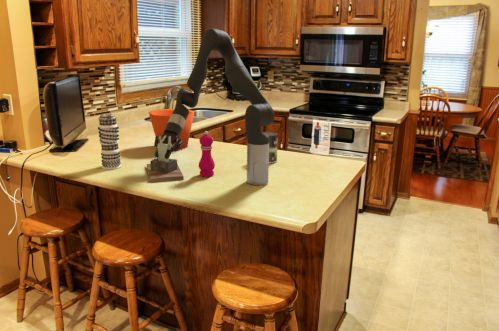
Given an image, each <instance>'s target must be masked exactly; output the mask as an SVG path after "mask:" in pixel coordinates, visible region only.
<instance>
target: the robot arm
mask: <svg viewBox="0 0 499 331" xmlns="http://www.w3.org/2000/svg"><path fill="white" fill-rule="evenodd" d="M212 51H213V52H218V53H219V54H220V55H221V57H222V58H223V60H224V62H225V68H224V72H225V76H226V79H227V81H228V82H229V84H230V85H231V87H232V89H233V90H234V91H236V93H238V94H240V95H241V96H242V97H244V98H245V99H246V100H247V101H248V102H249V103H250V105H248V106H247V107H246V109H245V114H244V124H245V137H246V139H247V140H246V141H247V142H246V148H247V149H246V150H247V151H246V182H247V184H249V185H253V186H263V185H268V184H269V167H270V164H269V136H268V135H265V134H262V133H261V132H262V127H267V126H269V125H272V124H273V123H274V121H275V117H276V116H275V111H274V109H273V107H272V105H271V104H270V102H269V101H268V100H267V98H266V97H265V96H264V94H263V92H261V91H260V89H259V88H258V85H257V84H256V82H255V81H254V79H253V78H252V76H251V74H250V72H249V71H248V69H247V67H246V65H244V62H243V60H242V59H241V58H240V55H239V54H238V52H237V50H236V48H235V46H234V43H233V41H232V38H231V37H230V35H229V33H227V32H226V31H224V30H222V29H217V28H213V27H212V28H208V29H206V30H205V32H204V33H203V36H202V38H201V41H200V46H199V48H198V52H197V56H196V60H195V62H194V66H193V68H192V70H191V72H190V75H189V77H188V79H187V82H186V85H187V87H188V88H189V89H190V90H189V89H186V88H184V87H183V88H180V89H179V90H178V91H177V94H176V97H175V98H176V101H175V106H174V108H173V109H174V111H173V113H172V115H171V117H170V119H169V121H168V123H167V125H166V127H165V129H164V134H163V135H162V136H161V137H158V136H155V139H154V144H153V147H154V148H155V151H154V157H155V159H156V158H158V144H159V143H163V144H169V147H168V150H167V152H166V154H165V156H164V157H165V159H168V158H169V159H170V158H171V157H170V156H171V154H172V153H173V152H175V153H176V152H177V151H179V150H178V148H179V147H180V146H181V144H182V143H183V141H182V140H181V139H180V138H179V137H180V134H181V132H182V130H183V127H184V125H185V121H186V119H187V117H188V115H189V110H190V109H192V108H193V109H194V108H196V106H197V105H198V103H199V98H200V93H201V92H200V91H201V88H202V87H203V85H204V82H205V80H206V79H207V75H208V59H209V57H210V56H209V55H210V54H211V52H212ZM192 91H193V92H192ZM187 107H188V108H190V109H188V108H187ZM178 138H179V139H178ZM161 139H162V140H161ZM174 143H175V144H174Z"/></svg>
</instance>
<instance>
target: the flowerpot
mask: <svg viewBox="0 0 499 331" xmlns="http://www.w3.org/2000/svg"><path fill="white" fill-rule="evenodd" d="M174 109H175V108H165V109H155V110H154V109H153V110H149V112H148V115H149V119H150V123H151V126H152V128H153V133H154V136H155V137H156V136H158V137H161V136H162V135H163V134H164V129H165V127H166V125H167V123H168V121H169V119H170V117H171V115H172V113H173V111H174ZM188 110H189V115H188V117H187V119H186V121H185V125H184V127H183V130H182V132H181V134H180V137H179V138H180V139H181V140H182V141H183V143H182V144H181V146H180V147H179V148H178V150H177V151H180V150H184V149H187V148H188V146H189V141H190V135H191V131H192V125H193V121H194V117H195V116H194V115H195V111H194V110H190V109H188ZM179 138H178V139H179ZM161 140H162V139H161ZM174 144H175V143H174Z"/></svg>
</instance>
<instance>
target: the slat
mask: <svg viewBox="0 0 499 331" xmlns="http://www.w3.org/2000/svg"><path fill="white" fill-rule="evenodd" d="M168 147H169V144H163V143H159V144H158V161H162V162H169V159H170V157H169V158H168V159H165V157H164V156H165V154H166V152H167V150H168Z"/></svg>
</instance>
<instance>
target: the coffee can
mask: <svg viewBox="0 0 499 331" xmlns="http://www.w3.org/2000/svg"><path fill="white" fill-rule="evenodd" d="M261 133H262V134H265V135H268V136H269V165H271V164H274V163H277V162H278V137H279V133H278V132H274V131H261Z"/></svg>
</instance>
